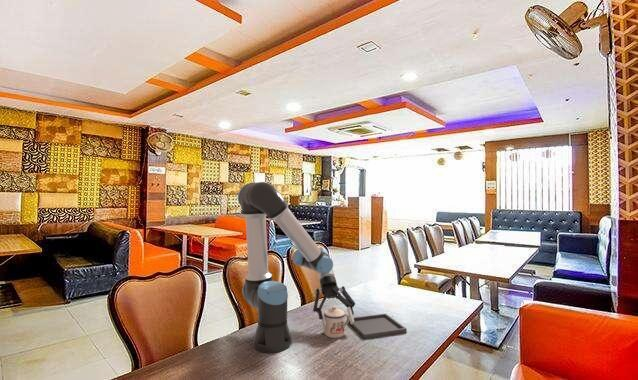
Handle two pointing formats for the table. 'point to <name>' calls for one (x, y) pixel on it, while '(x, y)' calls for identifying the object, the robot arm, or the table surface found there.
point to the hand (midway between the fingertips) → (339, 324)
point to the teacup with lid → (335, 322)
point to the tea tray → (377, 326)
